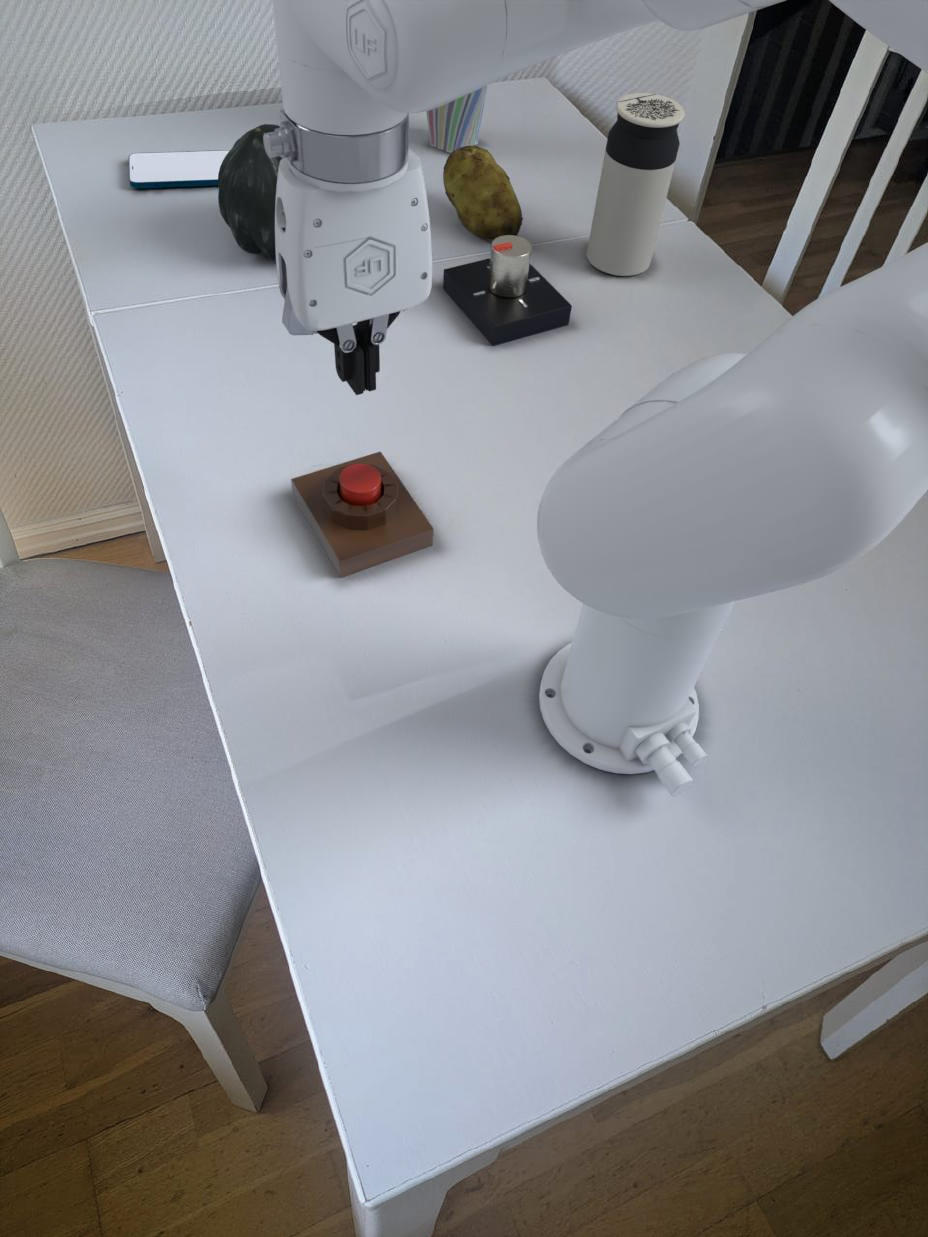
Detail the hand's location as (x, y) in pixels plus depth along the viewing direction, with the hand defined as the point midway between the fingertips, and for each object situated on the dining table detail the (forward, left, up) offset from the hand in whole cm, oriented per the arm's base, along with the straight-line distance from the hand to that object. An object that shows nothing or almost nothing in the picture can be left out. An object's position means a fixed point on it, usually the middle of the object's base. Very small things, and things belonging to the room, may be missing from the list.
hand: (358, 381), depth 70 cm
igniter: (0, 0, -16) cm, 16 cm away
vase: (+61, -42, -16) cm, 76 cm away
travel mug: (+27, -47, -16) cm, 56 cm away
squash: (+46, -11, -16) cm, 50 cm away
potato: (+41, -35, -16) cm, 56 cm away
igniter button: (0, 0, -12) cm, 12 cm away
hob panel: (+24, -29, -16) cm, 41 cm away
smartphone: (+66, -6, -16) cm, 68 cm away
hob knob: (+24, -29, -13) cm, 40 cm away
